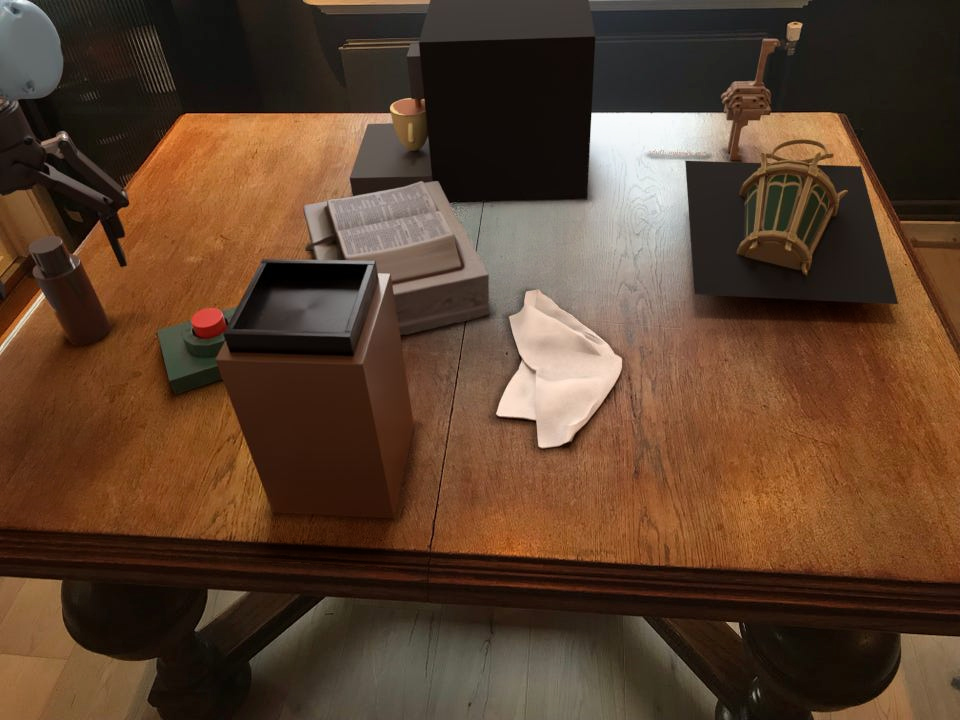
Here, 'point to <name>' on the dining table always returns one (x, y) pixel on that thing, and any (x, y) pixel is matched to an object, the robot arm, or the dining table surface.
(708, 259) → the lantern
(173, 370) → the base
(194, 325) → the button
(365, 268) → the brown pedestal
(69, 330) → the metal bottle
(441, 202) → the bible
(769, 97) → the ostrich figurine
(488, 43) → the coffee maker
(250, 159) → the dining table surface
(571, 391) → the cloth
